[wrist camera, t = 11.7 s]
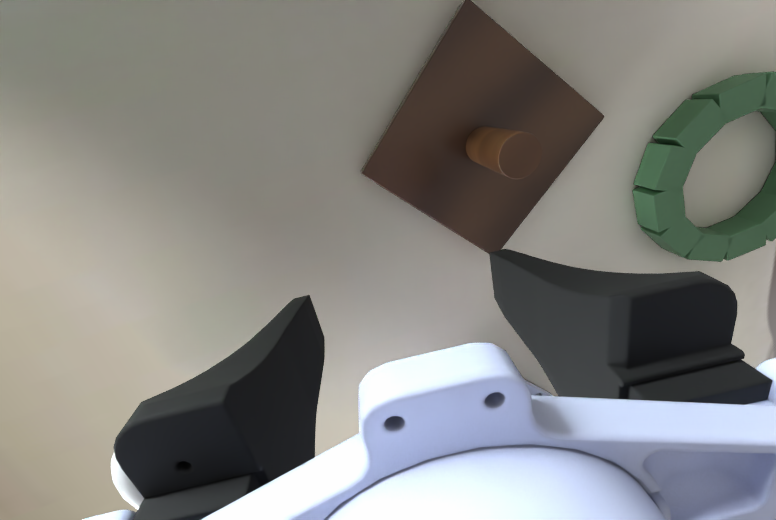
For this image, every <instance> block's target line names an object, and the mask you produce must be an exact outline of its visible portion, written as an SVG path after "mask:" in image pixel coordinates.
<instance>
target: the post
mask: <svg viewBox="0 0 776 520" xmlns="http://www.w3.org/2000/svg"><path fill="white" fill-rule="evenodd" d="M603 118H604V115H603V114H602V113H601V112H599V111H598V110H597V109H596V108H595V107H594V106H592V105H591V104H590V103H589V102H588V101H587V100H586V99H584V98H583V97H582V96H581V95H580V94H579V93H577V92H576V91H575V90H574V89H573V88H572V87H570V86H569V85H568V84H567V83H566V82H565V81H563V80H562V79H561V78H560V77H559V76H558V75H556V74H555V73H554V72H553V71H552V70H551V69H550V68H548V67H547V66H546V65H545V64H544V63H543V62H541V61H540V60H539V59H538V58H537V57H536V56H534V55H533V54H532V53H531V52H530V51H529V50H527V49H526V48H525V47H524V46H523V45H522V44H520V43H519V42H518V41H517V40H516V39H515V38H514V37H512V36H511V35H510V34H509V33H508V32H507V31H505V30H504V29H503V28H502V27H501V26H500V25H498V24H497V23H496V22H495V21H494V20H493V19H491V18H490V17H489V16H488V15H487V14H486V13H485V12H483V11H482V10H481V9H480V8H479V7H478V6H476V5H475V4H474V3H473V2H472V1H471V0H464V1H463V2H462V3H461V5H460V6H459V8H458V10H457V11H456V13H455V15H454V16H453V18H452V20H451V21H450V23H449V25H448V26H447V28H446V30H445V31H444V33H443V35H442V36H441V38H440V40H439V41H438V43H437V45H436V46H435V48H434V50H433V51H432V53H431V55H430V56H429V58H428V60H427V61H426V63H425V65H424V66H423V68H422V70H421V71H420V73H419V75H418V76H417V78H416V80H415V81H414V83H413V85H412V87H411V88H410V90H409V92H408V93H407V95H406V97H405V98H404V100H403V102H402V103H401V105H400V107H399V108H398V110H397V112H396V113H395V115H394V117H393V118H392V120H391V122H390V123H389V125H388V127H387V128H386V130H385V132H384V133H383V135H382V137H381V138H380V140H379V142H378V143H377V145H376V147H375V148H374V150H373V152H372V153H371V155H370V157H369V158H368V160H367V162H366V163H365V165H364V167H363V168H362V170H361V174H362V175H363V176H365V177H367V178H368V179H370V180H371V181H373V182H375V183H376V184H378V185H379V186H381V187H383V188H384V189H386V190H387V191H389V192H391V193H392V194H394V195H395V196H397V197H399V198H400V199H402V200H404V201H405V202H407V203H408V204H410V205H412V206H413V207H415V208H416V209H418V210H420V211H421V212H423V213H424V214H426V215H428V216H429V217H431V218H432V219H434V220H436V221H437V222H439V223H440V224H442V225H444V226H445V227H447V228H448V229H450V230H452V231H453V232H455V233H457V234H458V235H460V236H461V237H463V238H465V239H466V240H468V241H469V242H471V243H473V244H474V245H476V246H477V247H479V248H481V249H482V250H484V251H485V252H487V253H489V254H490V252H494V251H499V250H501V248H502V247H503V246H504V245H505V243H506V242H507V241H508V239H509V238H510V237H511V236H512V234H513V233H514V232H515V231H516V229H517V228H518V227H519V225H520V224H521V223H522V222H523V220H524V219H525V218H526V216H527V215H528V214H529V213H530V211H531V210H532V209H533V208H534V206H535V205H536V204H537V202H538V201H539V200H540V199H541V197H542V196H543V195H544V193H545V192H546V191H547V190H548V188H549V187H550V186H551V185H552V183H553V182H554V181H555V179H556V178H557V177H558V176H559V174H560V173H561V172H562V170H563V169H564V168H565V167H566V165H567V164H568V163H569V162H570V160H571V159H572V158H573V156H574V155H575V154H576V153H577V151H578V150H579V149H580V147H581V146H582V145H583V144H584V142H585V141H586V140H587V138H588V137H589V136H590V135H591V133H592V132H593V131H594V130H595V128H596V127H597V126H598V124H599V123H600V122H601V121H602V119H603Z"/></svg>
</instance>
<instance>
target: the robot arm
mask: <svg viewBox="0 0 776 520" xmlns="http://www.w3.org/2000/svg"><path fill="white" fill-rule="evenodd" d="M490 262H491V271H492V280H493V289H494V298H495V300H496V302H497V303H498V305H499V307H500V309H501V311H502V313H503V315H504V316H505V318H506V319H507V321H508V322H509V323H510V325H511V326H512V327H513V329H514V330H515V331H516V333H517V334H518V335H519V337H520V338H521V339H522V341H523V342H524V343H525V344H526V346H527V347H528V348H529V350H530V351H531V352H532V354H533V355H534V356H535V358H536V359H537V361H538V362H539V364H540V365H541V367H542V368H543V370H544V372H545V373H546V375H547V377H548V379H549V380H550V382H551V384H552V385H553V387H554V389H555V391H556V392H557V394H558V396H552V394H551V393H549V392H547V391H545V390H544V389H542V388H540V387H538V386H536V385H534V384H532V383H530V382H528V381H526V380H524V379H523V378H522V376H521V374H520V373H519V371H518V369H517V368H516V366H515V365H514V363H513V361H512V360H511V358H510V357H509V355H508V353H507V352H506V351H505V350H503V349H502V348H500V347H498V346H496V345H494V344H492V343H469V344H464V345H460V346H456V347H451V348H447V349H443V350H439V351H434V352H430V353H426V354H422V355H417V356H413V357H409V358H404V359H400V360H396V361H392V362H387V363H385V364H383V365H381V366H379V367H377V368H375V369H373V370H370V371H369V372H368V374H367V375H366V376H365V378H364V379H363V380H362V382H361V383H360V384H359V434H357V435H355V436H353V437H351V438H349V439H348V440H346V441H344V442H342V443H340V444H338V445H337V446H335V447H333V448H331V449H329V450H327V451H326V452H324V453H322V454H320V455H318V456H316V457H315V426H316V412H317V404H318V397H319V391H320V385H321V378H322V372H323V365H324V335H323V332H322V330H321V327H320V324H319V321H318V318H317V315H316V312H315V310H314V307H313V304H312V301H311V298H310V295H307V296H303V297H299V298H295V299H293V300H292V301H291V302H289V303H288V304H287V305H286V306H285V307H284V308H283V309H282V310H281V311H280V312H279V313H278V314H277V315H276V316H275V317H274V318H273V319H272V320H271V321H270V322H269V323H268V324H267V325H266V326H265V327H264V328H263V329H262V330H261V331H260V332H259V333H258V334H256V335H255V336H254V337H253V338H252V339H251V340H250V341H248V342H247V343H246V344H245V345H244V346H242V347H241V348H240V349H238V350H237V351H236V352H234V353H233V354H232V355H230V356H229V357H227V358H226V359H224V360H223V361H221V362H219V363H218V364H216V365H215V366H213V367H212V368H210V369H209V370H207V371H205V372H203V373H202V374H200V375H198V376H196V377H194V378H193V379H191V380H189V381H187V382H185V383H183V384H181V385H179V386H177V387H175V388H173V389H170V390H168V391H166V392H164V393H161V394H159V395H157V396H154V397H152V398H150V399H148V400H145V401H143V402H141V403H140V405H139V406H138V408H137V409H136V410H135V412H134V413H133V415H132V416H131V417H130V419H129V420H128V422H127V423H126V424H125V426H124V427H123V429H122V430H121V431H120V433H119V434H118V436H117V437H116V440H115V444H114V454H115V458H116V460H117V462H118V464H119V465H120V467H121V469H122V470H123V472H124V473H125V474H126V475H127V477H128V478H129V479H130V481H131V482H132V483H133V485H134V486H135V487H136V489H137V490H138V491H139V492H140V494H141V495H142V496H143V498H144V499H143V501H142V503H141V505H140V507H139V509H138V510H137V512H134V511H131V510H118V511H114V512H110V513H106V514H101V515H97V516H93V517H88V518H85V519H82V520H776V358H773V359H769V360H766V361H764V362H762V363H761V364H759V365H758V366H757V367H756V369H755V368H753V367H752V366H750V365H749V364H747V363H745V362H744V361H742V360H741V359H744V356H745V354H744V352H743V351H742V350H740V349H739V348H737V347H736V346H734V345H732V344H731V341H732V336H733V331H734V326H735V321H736V317H737V300H736V296H735V293H734V292H733V291H732V290H731V288H730V287H729V286H728V285H726V284H724V283H722V282H720V281H718V280H716V279H714V278H712V277H710V276H708V275H706V274H704V273H702V272H700V271H696V272H680V273H664V274H632V273H614V272H602V271H594V270H588V269H581V268H575V267H570V266H566V265H562V264H557V263H553V262H550V261H546V260H542V259H539V258H536V257H532V256H529V255H526V254H523V253H519V252H516V251H512V250H508V249H503V250H499V251H494V252H490ZM538 393H539V394H538Z"/></svg>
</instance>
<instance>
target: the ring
mask: <svg viewBox="0 0 776 520" xmlns="http://www.w3.org/2000/svg"><path fill="white" fill-rule="evenodd" d="M753 111H760V112H761V113H762V114H763V115H764V117H765V118H766V119H767V120H768V122H769V123H770V124H771V125H772V127H773V128H774V129H775V130H776V72H762V73H751V74H742V75H735V76H732V77H730V78H728V79H726V80H723V81H721V82H719V83H717V84H715V85H712V86H710V87H708V88H706V89H704V90H701V91H699V92H697V93H695V94H693V95H692V100H685V101H684V102H683V103H682V104H681V105H680V106H679V107H678V109H677V110H676V111H675V112H674V113H673V114H672V115H671V116H670V117H669V118H668V119H667V121H666V122H665V123H664V124H663V125H662V126H661V127H660V128H659V129H658V130H657V132H656V133H655V134H654V135H653V138H654V139H655V140H656V141H657V142H658V143H659V144H658V143H648V145H647V148H646V150H645V153H644V156H643V159H642V161H641V164H640V167H639V170H638V173H637V175H636V178H635V181H634V184H635V185H638V186H641V187H638V188H636V189H634V190H633V196H634V203H635V209H636V215H637V222H638V224H639V225H641V226H642V227H641V230H642V231H643V232H645V233H646V234H647V235H648V236H649V237H650V238H651V239H652V240H654V241H655V242H656V243H657V244H658V245H659V246H660V247H661V248H663V249H665V250H667V251H670V252H672V253H674V254H676V255H678V256H680V257H684V258H686V259H689V260H703V261H717V262H722V261H723V259H725V260H731V259H733V258H736V257H738V256H741V255H743V254H745V253H748V252H750V251H753V250H755V249H758V248H760V247H763V246H765V245H766V240H769V241H773V240H774V239H775V238H776V162H775V164H774V166H773V168H772V170H771V172H770V174H769V176H768V178H767V180H766V182H765V184H764V186H763V188H762V190H761V192H760V193H759V194H758V195H757V196H756V197H755V198H753V199H752V200H751V201H750V202H749V203H748V204H747V205H746V206H745V207H744V208H743V209H742V210H741V211H740V212H739V213H738V214H737V215H735V216H734V217H732V218H729V219H727V220H724V221H722V222H720V223H717V224H715V225H713V226H710V227H708V228H701V227H695V226H694V225H693V224H692V223H691V222H690V221H689V220H688V219H687V218H686V216H685V206H684V196H683V185H684V183H685V181H686V178H687V176H688V173H689V171H690V168H691V166H692V164H693V161H694V159H695V156H696V154H697V153H698V152H699V151H700V150H701V149H702V147H703V146H704V145H705V144H706V143H707V142H708V141H709V140H710V139H711V138H712V137H713V136H714V135H715V134H716V133H717V132H718V131H719V130H720V129H721V128H722V127H723V126H724V125H725V124H726V123H728V122H730V121H732V120H735V119H737V118H739V117H741V116H744V115H746V114H748V113H751V112H753Z"/></svg>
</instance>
